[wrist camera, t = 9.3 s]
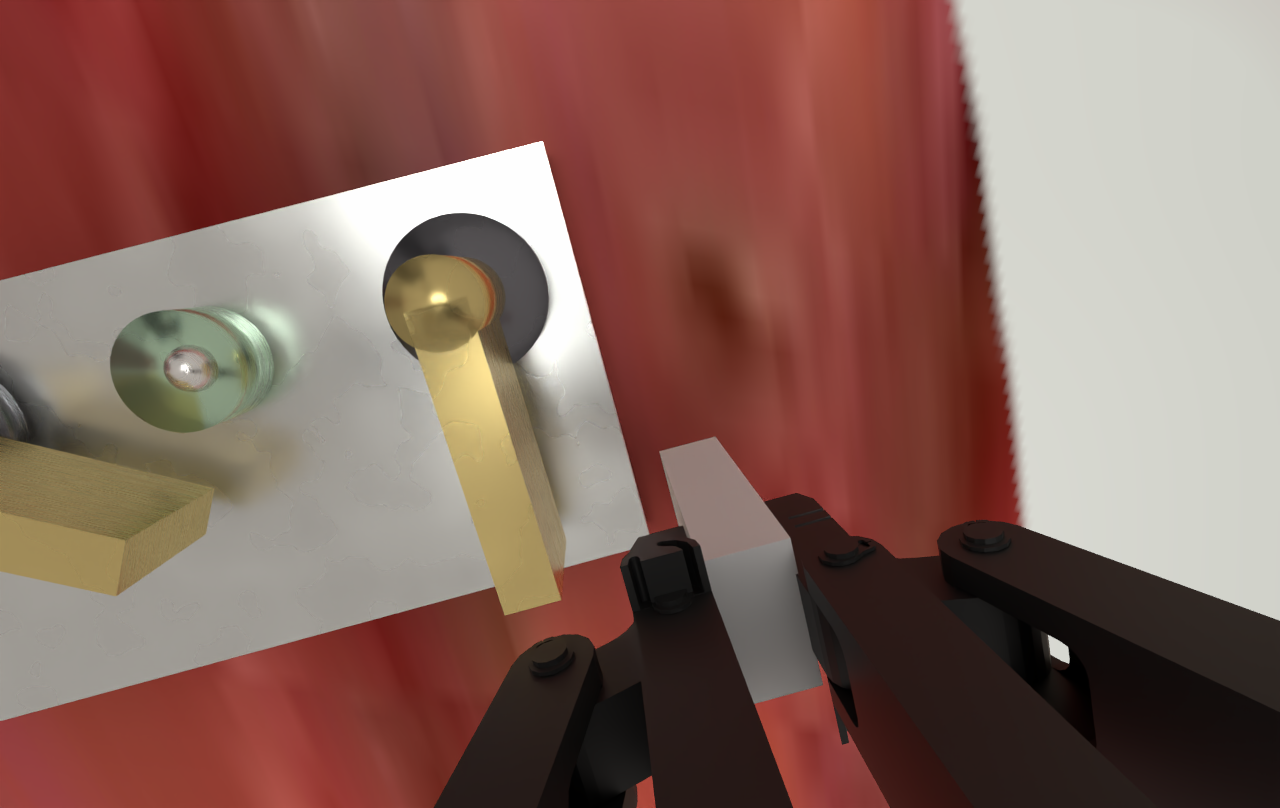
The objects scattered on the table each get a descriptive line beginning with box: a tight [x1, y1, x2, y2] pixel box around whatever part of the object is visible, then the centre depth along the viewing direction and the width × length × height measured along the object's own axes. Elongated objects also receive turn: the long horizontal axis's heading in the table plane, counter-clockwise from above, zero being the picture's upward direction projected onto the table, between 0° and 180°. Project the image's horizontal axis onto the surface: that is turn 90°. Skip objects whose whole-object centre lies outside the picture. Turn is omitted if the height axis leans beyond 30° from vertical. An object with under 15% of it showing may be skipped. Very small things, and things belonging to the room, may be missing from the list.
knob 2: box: [382, 213, 566, 615], centre depth 19 cm, size 11×5×5 cm, turn 15°
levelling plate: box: [0, 141, 649, 721], centre depth 21 cm, size 14×24×5 cm, turn 105°
